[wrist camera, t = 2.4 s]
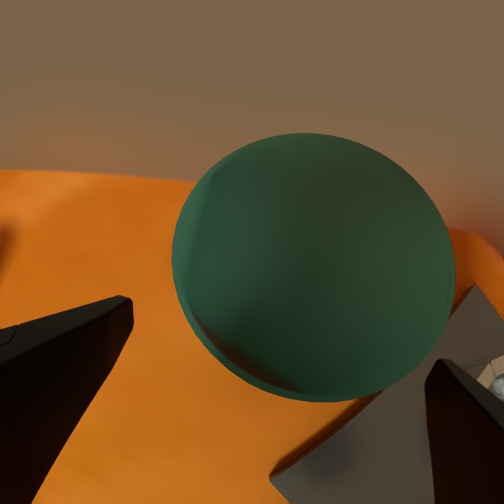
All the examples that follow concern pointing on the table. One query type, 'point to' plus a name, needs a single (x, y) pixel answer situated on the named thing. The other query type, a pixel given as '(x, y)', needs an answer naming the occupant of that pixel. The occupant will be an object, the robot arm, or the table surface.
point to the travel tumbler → (313, 267)
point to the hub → (396, 423)
